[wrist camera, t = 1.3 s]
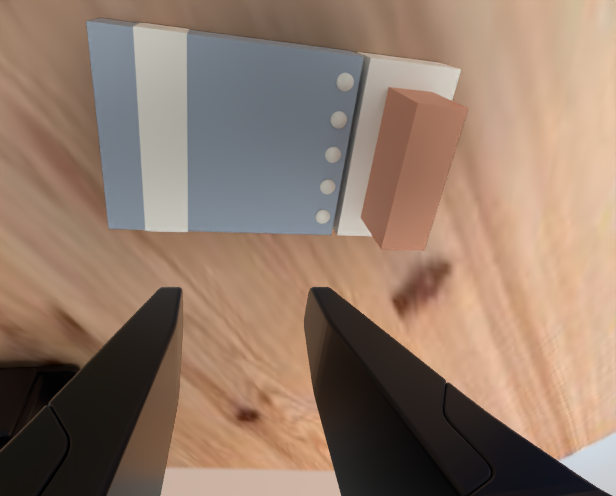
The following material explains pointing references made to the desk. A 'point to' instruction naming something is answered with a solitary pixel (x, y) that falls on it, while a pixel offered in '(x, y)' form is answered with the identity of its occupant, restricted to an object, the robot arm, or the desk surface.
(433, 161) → the stub
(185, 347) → the desk surface
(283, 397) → the desk surface
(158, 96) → the light blue flat piece
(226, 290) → the desk surface
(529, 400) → the desk surface
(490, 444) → the robot arm
